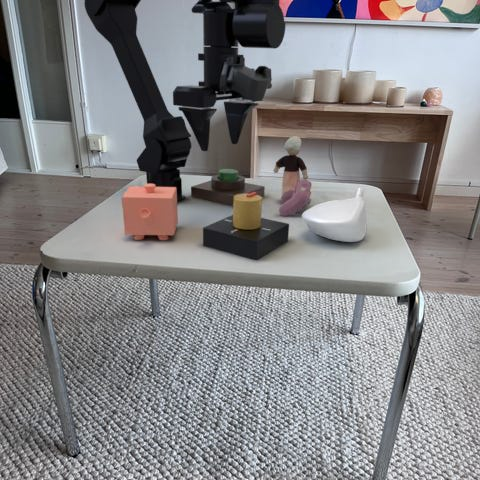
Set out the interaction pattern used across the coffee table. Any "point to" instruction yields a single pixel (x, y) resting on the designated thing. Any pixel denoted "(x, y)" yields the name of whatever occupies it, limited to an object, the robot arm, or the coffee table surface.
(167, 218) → the pink cube teapot
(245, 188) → the lamp base
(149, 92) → the robot arm
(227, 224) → the panel
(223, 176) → the lamp switch
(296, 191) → the pink rounded piece
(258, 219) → the dimmer knob
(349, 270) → the coffee table surface
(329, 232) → the golf club head
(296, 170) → the grandmother figurine
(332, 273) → the coffee table surface
